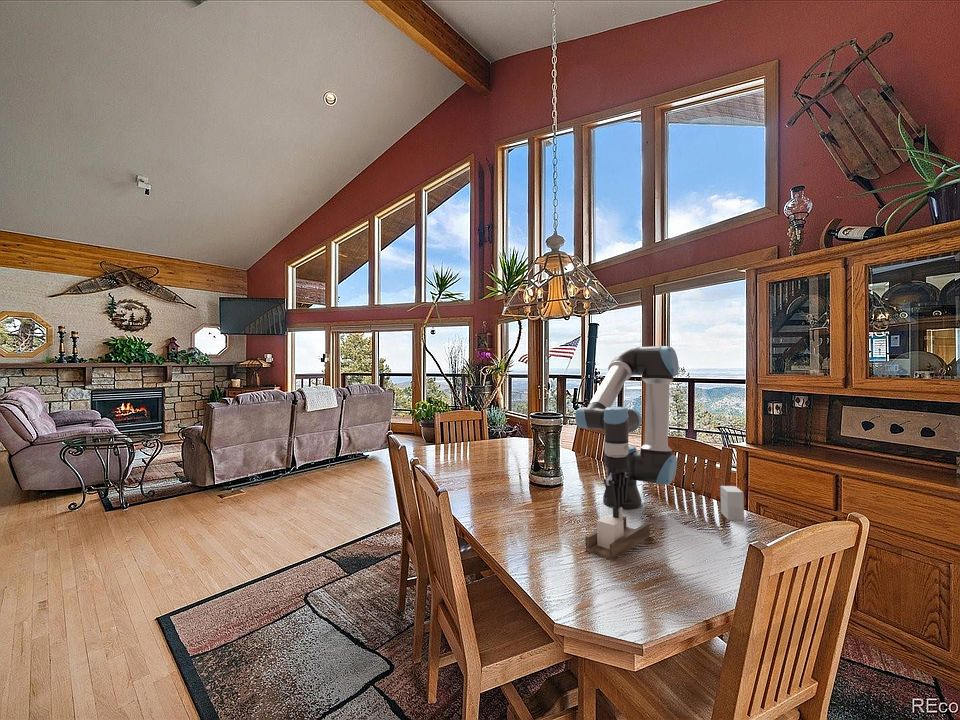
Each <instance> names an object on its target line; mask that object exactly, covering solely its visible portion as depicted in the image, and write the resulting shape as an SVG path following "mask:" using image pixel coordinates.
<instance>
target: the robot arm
mask: <svg viewBox="0 0 960 720" xmlns="http://www.w3.org/2000/svg"><path fill="white" fill-rule="evenodd" d="M678 359H679V358H678V356H677V353H676V350H675V348H673V347H672V346H665V345H656V346H633V347H629V348H626V349H625V350H622V352H620V353H619V354H617V355H616V356H615V357H614V358H613V359H612V360H611V362H610V363H609V365H608V367H607V369H608V370H607V371H608V372H607V373H606V375H605V377H603V380H602V381H601V384H600V385H599V386H598V388H597V390H596V392H595V393H594V395H593V396H592V398H591V400H590V401H589V403H588V405H587V407H585V406H583V407H579V408H577V409H576V411H575V415H574V420H575V424H576V426H577V427H579V428H581V429H587V430H597V431H598V430H601V431H603V432H604V454H605V455H604V466H605V467H606V478H604V479H603V483H604V487H605V489H604V492H603V495H602V501H603V502H602V503H604V504H605V506H607V507H611V508H612V517H614V518H618V519H622V520H623V516H624V515H623V511H624V510H633V509H637V508H640V507H641V506H643V504H642V502H643V501H642V497H641V494H640V492H639V488H638V484H637V483H638V482H644V483H651V484H656V485H664V486H666V485H667V486H668V485H671V483H672V482H673V481H674V479H675V476H676V474H677V468H678V460H677V459H678V458H677V456H676V455H674V454H673V449H672V448H671V447H670V446H669V404H670V400H669V399H670V384H671V383H672V382H673V381H674V377H675V376H677V375H678V374H679V369H680V367H679V360H678ZM632 376H641V380H642V381H643V382H644V383H645V406H644V407H645V417H644V420H645V422H644V443H643V445H641V446H640V448H639V449H640V451H639V450H637V448H636V446H634V445H629V434H630V433H633V432H635V431H637V430H638V429H639V428H640V427H641V425H642V422H643V418H642V415H641V413H640V412H639V411H638V410H636V409H633V408H626V407H624V406H613V404H614V403H615V401H616V399H617V397H618V395H619V393H620V392H621V390H622V388H623V386H624V384H625V383H626V381H628V380H629V379H630V378H631V377H632ZM637 481H638V482H637Z"/></svg>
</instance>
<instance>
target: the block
mask: <svg viewBox="0 0 960 720" xmlns="http://www.w3.org/2000/svg"><path fill="white" fill-rule="evenodd" d="M596 530H597V545H598V546H601V547H604V548H607V549H610V544H611V543H613V542H614V541H616V540H618V539H619V538H621V537H623V536H624V522H623V520H622V519H618V518H614V517H613V516H610V515H605V516H602V517H600V518H599V519H596Z"/></svg>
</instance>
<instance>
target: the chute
mask: <svg viewBox="0 0 960 720" xmlns="http://www.w3.org/2000/svg"><path fill="white" fill-rule="evenodd" d="M623 522H624V536H623V537H621V538H619V539H618V540H616V541H614V542H613V543H611V544H610V549H607V548H604V547H601V546H598V545H597V529H596V530H595V531H593V532H591V533H589V534H588V535H586V536H585V538H584V540H585V542H584V543H585V552H589V553H591V554H595V555H598V556H601V557H603V558H606V559H609V560H612V561H615V560H616V559H618V558H619V557H621V556H623V555H624V554H626V553H627V552H628V551H630V550H632V549H633V548H634V547H637V546H638V545H639V544H641V543H643V542H644V541H645V540H646V539H648V538H650V537H651V523H649V522H645V523H643V524H641V525H640V526H638V527H636V528H632V527H629V526H628V525H627V516H624V515H623Z"/></svg>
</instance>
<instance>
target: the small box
mask: <svg viewBox="0 0 960 720" xmlns="http://www.w3.org/2000/svg"><path fill="white" fill-rule="evenodd" d="M719 487H720V491H719V492H720V513H721V514H722V515H723V516H724V517H725V518H726V519H727V521H745V502H744V501H745V498H744V497H745V495H744V492H743V490H741V489H740V488H739V487H737V486H736V485H735V486H734V485H720V486H719Z"/></svg>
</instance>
